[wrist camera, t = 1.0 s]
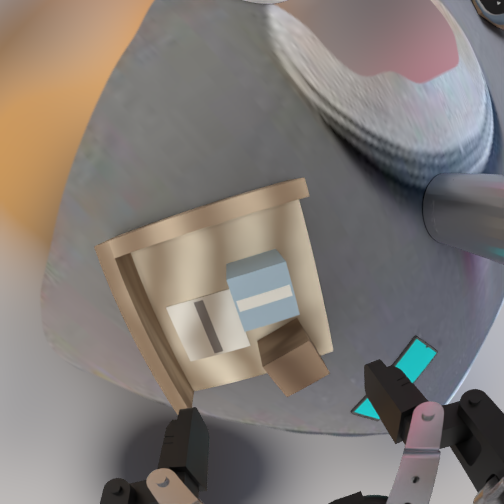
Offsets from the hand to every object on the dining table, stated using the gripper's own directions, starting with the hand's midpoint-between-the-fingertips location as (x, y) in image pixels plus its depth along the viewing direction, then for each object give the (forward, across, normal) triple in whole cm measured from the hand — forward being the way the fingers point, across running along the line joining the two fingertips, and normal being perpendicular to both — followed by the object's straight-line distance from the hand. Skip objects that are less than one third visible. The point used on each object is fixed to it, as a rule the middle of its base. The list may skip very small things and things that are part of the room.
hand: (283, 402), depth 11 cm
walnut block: (+17, -2, +8) cm, 19 cm away
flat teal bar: (+19, -17, +22) cm, 34 cm away
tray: (+18, +3, +1) cm, 19 cm away
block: (+17, 0, 0) cm, 17 cm away
